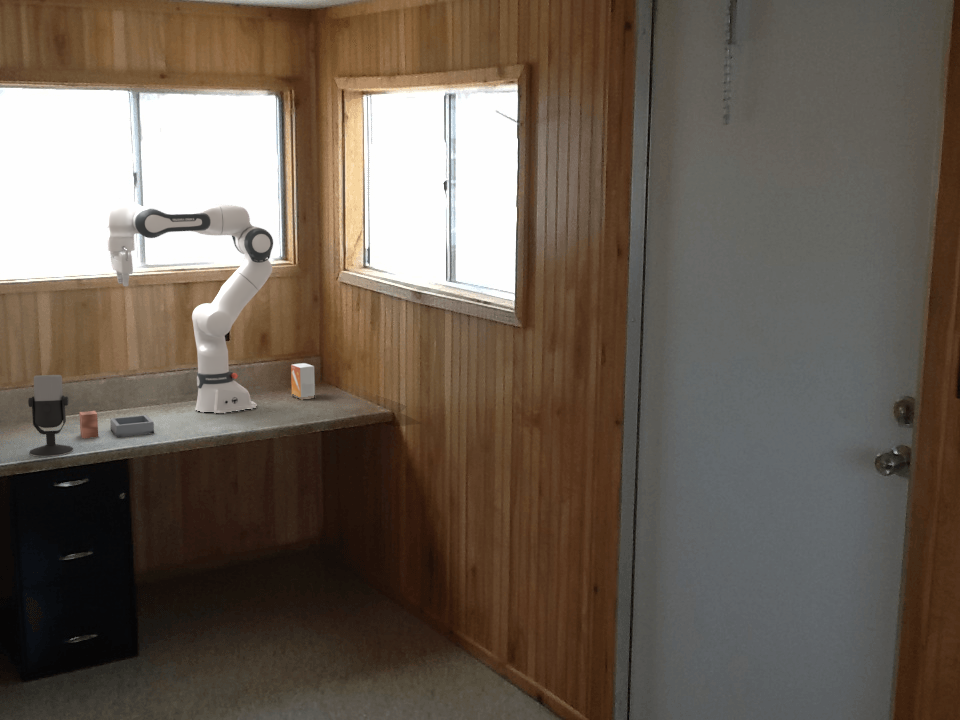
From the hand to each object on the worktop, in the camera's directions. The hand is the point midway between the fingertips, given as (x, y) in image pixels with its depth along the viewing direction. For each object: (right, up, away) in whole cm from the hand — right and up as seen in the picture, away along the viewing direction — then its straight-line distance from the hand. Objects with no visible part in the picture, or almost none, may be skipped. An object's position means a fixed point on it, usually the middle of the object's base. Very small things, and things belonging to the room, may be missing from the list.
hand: (123, 284), depth 402 cm
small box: (+57, -42, +43) cm, 82 cm away
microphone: (-11, -56, -39) cm, 69 cm away
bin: (+7, -51, -12) cm, 53 cm away
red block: (-6, -52, -18) cm, 56 cm away
